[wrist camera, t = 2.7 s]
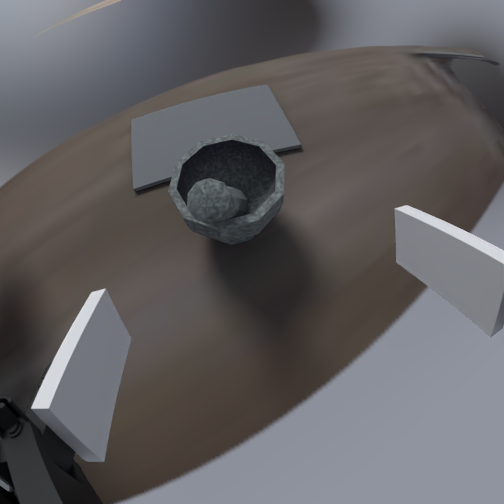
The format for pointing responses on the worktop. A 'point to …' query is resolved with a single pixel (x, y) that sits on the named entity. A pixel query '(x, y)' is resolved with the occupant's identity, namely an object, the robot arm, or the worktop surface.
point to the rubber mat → (205, 130)
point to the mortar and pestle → (228, 187)
